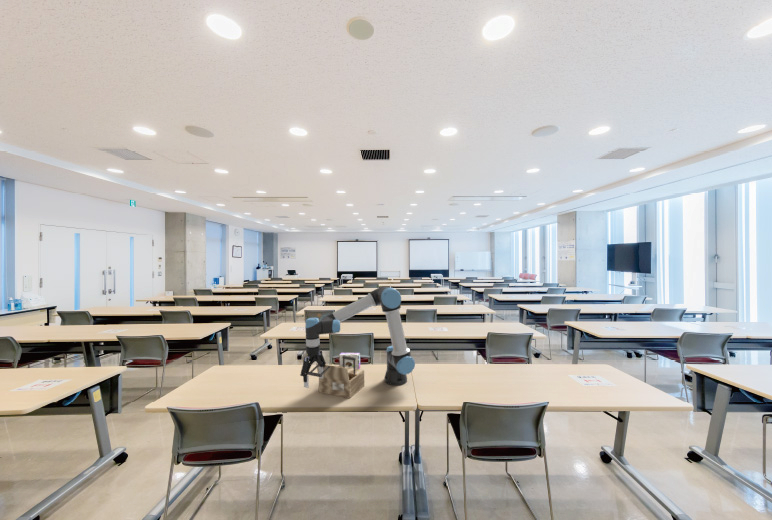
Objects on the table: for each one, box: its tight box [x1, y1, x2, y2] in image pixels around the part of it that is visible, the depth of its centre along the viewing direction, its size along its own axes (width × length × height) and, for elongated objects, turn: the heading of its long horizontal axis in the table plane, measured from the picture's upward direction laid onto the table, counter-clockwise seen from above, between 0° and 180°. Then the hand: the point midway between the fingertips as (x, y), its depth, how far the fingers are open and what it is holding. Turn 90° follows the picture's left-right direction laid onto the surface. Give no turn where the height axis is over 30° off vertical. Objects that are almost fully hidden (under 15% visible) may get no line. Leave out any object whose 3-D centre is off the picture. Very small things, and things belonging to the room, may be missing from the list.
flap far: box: [334, 356, 365, 376], centre depth 202 cm, size 22×9×11 cm, turn 66°
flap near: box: [307, 362, 349, 382], centre depth 184 cm, size 22×9×11 cm
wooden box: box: [318, 370, 365, 399], centre depth 198 cm, size 22×18×10 cm
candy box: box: [338, 352, 361, 369], centre depth 217 cm, size 14×6×16 cm, turn 84°
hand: (314, 382), depth 180 cm, fingers open, 13 cm apart
